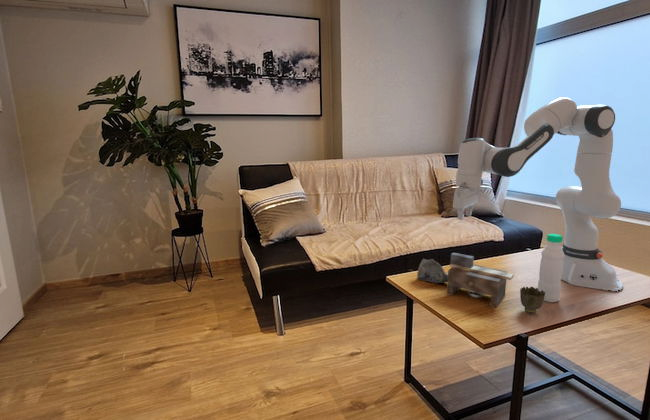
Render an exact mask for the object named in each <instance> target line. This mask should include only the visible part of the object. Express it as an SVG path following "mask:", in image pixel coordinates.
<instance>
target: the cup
mask: <svg viewBox="0 0 650 420" xmlns="http://www.w3.org/2000/svg"><path fill="white" fill-rule="evenodd" d="M519 290H520V291H519V292H520V293H519V294H520V296H519V297H520V303H521V306H522V307H524V308H523V309H524V311H525V312H526V313H527V314H531V315H532V314H533V315H535V314H536V313H537V310H539V309H541V308H542V306H543V304H544V301H543V300H544V296H545V292H543V290H542V291H541V292H540V291H538V287H536V288H535V287H534V286H530V287H529V286H522V287H521V288H520V289H519Z"/></svg>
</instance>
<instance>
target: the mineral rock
mask: <svg viewBox="0 0 650 420" xmlns="http://www.w3.org/2000/svg"><path fill="white" fill-rule="evenodd" d="M416 273H417V276H416V278H417V279H418V280H422V281H425V282H431V283H436V284H440V283H443V284H445V283H448V272H446V271H445V270H444V268H443V266H442V265H441V264H440V263H439V262H437V261H436V260H435V259H433V258H431V259H425V258H422V260H421V262H420V263H419V266H418V269H417V272H416Z"/></svg>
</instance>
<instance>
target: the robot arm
mask: <svg viewBox="0 0 650 420" xmlns="http://www.w3.org/2000/svg"><path fill="white" fill-rule="evenodd" d="M615 122H616V113H615V111H614V110H613V108H612V107H611V106H609V105H605V104H595V105H592V104H591V105H590V104H589V105H587V104H586V105H579V106H577V103H576V102H575V100H573V99H571V98H569V97H564V96H563V97H558V98H556V99H554V100H552V101H550V102H548V103H546V104H544V105H543V106H541V107H540V108H538V109H537V110H535V111H534V112H533V113H531V114H530V115H529V116H528V117H527V118H526V119H525V120H524V124H523V129H524V132H525V133H524V134H525V135H526V137H525V138H523V140H521V141H520V142H519V143H518V144H517V145H515V146H511V147H510V146H509V147H496V146H493V145H491V144H489V143H488V142H486V140H485V139H484V138H482V137H471V138H467V139H466V138H465V139H464V140H462V142H461V143H460V146H459V150H458V157H457V171H456V176H455V186H456V189H455V190H454V194H453V201H452V208H453V209H455V210H456V212H457V220H458V221H462V220H464V217H465V216H469V217H470V216H472V212H473V208H474V205H475V204H477V203H478V202H479V199H480V195H481V189H482V186H483V184H484V179H483V178H482V176H483V173H488V174H493V175H499V176H502V177H506V178H510V177H513V176H516V175H517V174H519V173H520V171H521V170H522V169H523V168H524V166H525V165H526V163H527V162H528V161H529V160H530V159H531V158H533V156H535V155H536V154H537V153H538V152H539V151H540V150H541V149H543V148H544V147H545V146H546V145H547V144H548V143H549V142H550V141H551V140H552V139H553V137H554V135H555V134H557V135H561V136H573V137H574V136H576V137H577V136H578V138H579V142H578V147H577V150H576V151H577V152H576V157H575V162H574V170H573V172H574V174H575V176H576V177H578V179H579V181H580V184H581V185H570V186H569V185H567V186H563V187H561V188H560V189H559V190H558V191H557V192H556V194H555V202H556V205H558V207H559V209H560V210H561V212H562V216H563V219H564V225H565V229H564V230H565V232H564V241H563V243H562V246H561V247H562V251H563V252H564V259H563V271H562V277H561V281H565V282H566V283H568V284H569V285H571V286H575V287H583V288H587V289H589V288H590V289H596V290H601V289H602V290H603V291H608V290H611V291H610V292H615V291H617V292H619V291H618V290H620V291H622V290H623V288H622V287H624V286H623V285H624V284H623V282H622V281H621V280H620V279H619V278H617V276H618V275H617V272H616V270H615V268H614V267H613V266H612V265H611V264H609V263H608V262H606V261H605V260H604V259H603V257H604V253H603V251H602V249H599V248H598V246H597V245H598V239H599V232H600V231H599V229H598V227H597V226H596V224H594V222H593V219H592V218H596V219H598V218H599V219H610V218H613V217H615V216H616V215H617V214H618V213H619V212H620V210H621V207H622V201H621V198H620V197H619V196H618V195H617V194H616V192H615V191H614V189H613V186H612V183H611V179H610V168H611V161H612V155H613V148H614V133H613V132H614V131H613V129H612V128H613V127H614V124H615ZM465 209H466V211H465ZM464 212H465V214H464ZM621 289H622V290H621Z"/></svg>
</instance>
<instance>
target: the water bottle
mask: <svg viewBox="0 0 650 420" xmlns="http://www.w3.org/2000/svg"><path fill="white" fill-rule="evenodd" d="M546 236H547V237H546V242H547V244H546V245H545V247H544V248H543V250H542V251H541V259H540V264H539V271H538V273H539V276H538V278H539V279H538V283H537V288H538V291H540V292H541V291H542V290H543V292H545V296H544V300H543V302H545V303H546V302H547V303H556V302H557V303H558V301H559V300H560V291H561V282H562V279H561V277H562V271H563V259H564V252H563V251H562V246H561V244H563V243H562V242H563V236H562V235H561V234H557V233H549V234H547V235H546Z"/></svg>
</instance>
